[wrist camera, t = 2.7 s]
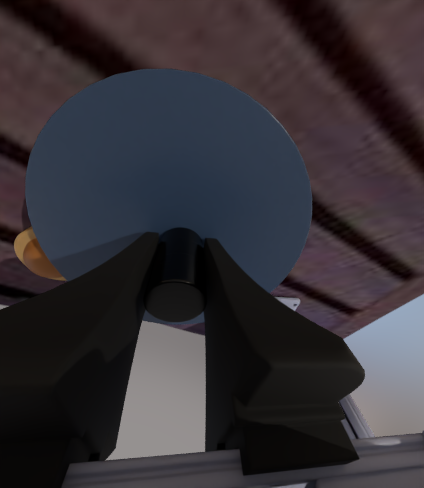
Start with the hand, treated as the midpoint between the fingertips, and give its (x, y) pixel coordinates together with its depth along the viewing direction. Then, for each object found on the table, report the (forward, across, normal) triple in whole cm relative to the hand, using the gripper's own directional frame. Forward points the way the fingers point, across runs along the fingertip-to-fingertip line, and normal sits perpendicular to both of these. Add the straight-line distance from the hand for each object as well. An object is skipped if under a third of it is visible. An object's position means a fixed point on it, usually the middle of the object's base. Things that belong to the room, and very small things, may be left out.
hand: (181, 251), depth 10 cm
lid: (+1, 0, 0) cm, 1 cm away
